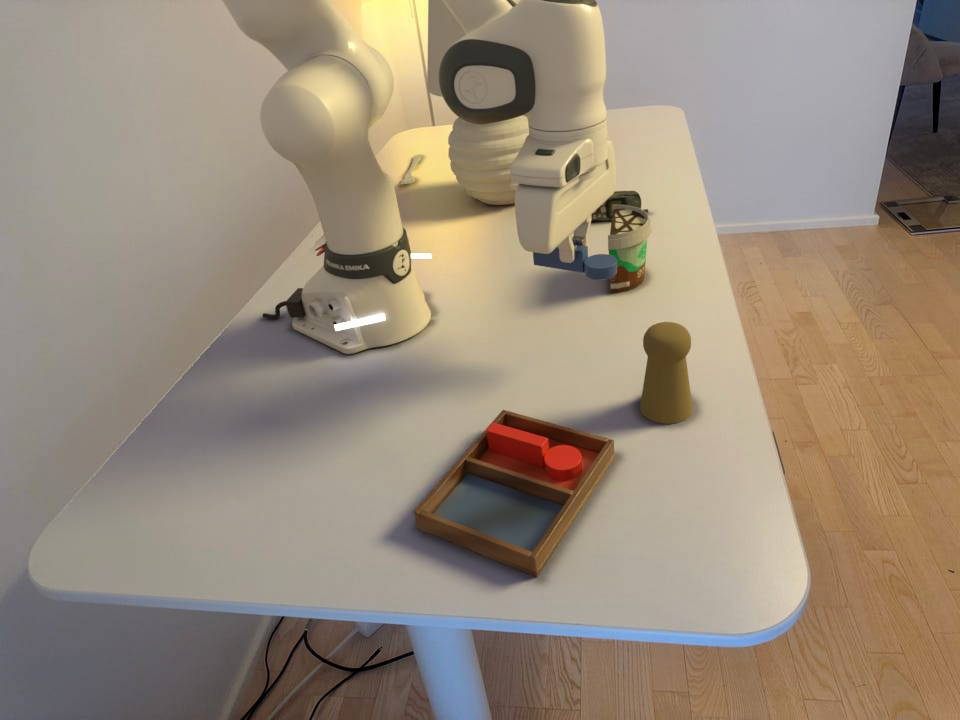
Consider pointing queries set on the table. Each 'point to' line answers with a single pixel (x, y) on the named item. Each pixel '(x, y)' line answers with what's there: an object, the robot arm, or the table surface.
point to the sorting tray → (513, 497)
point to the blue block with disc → (580, 263)
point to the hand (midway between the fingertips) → (573, 255)
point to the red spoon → (535, 451)
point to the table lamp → (474, 125)
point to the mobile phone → (616, 199)
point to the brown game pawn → (666, 374)
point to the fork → (409, 178)
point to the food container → (628, 246)
